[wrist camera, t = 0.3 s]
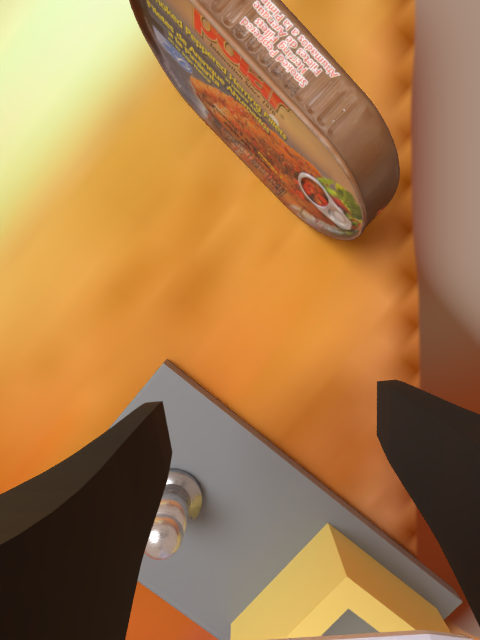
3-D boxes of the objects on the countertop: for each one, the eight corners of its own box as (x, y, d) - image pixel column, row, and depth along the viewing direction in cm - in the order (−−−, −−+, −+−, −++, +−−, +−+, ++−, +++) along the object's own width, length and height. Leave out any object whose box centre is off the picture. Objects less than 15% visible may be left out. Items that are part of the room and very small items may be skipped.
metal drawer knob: (178, 532, 22) (162, 596, 18) (133, 498, 22) (105, 555, 18) (214, 491, 22) (208, 547, 18) (169, 456, 22) (150, 503, 17)
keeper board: (331, 705, 25) (334, 723, 24) (49, 500, 23) (40, 510, 22) (453, 588, 24) (462, 602, 23) (166, 359, 22) (163, 363, 21)
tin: (149, 65, 20) (82, -90, 11) (187, 22, 19) (146, -170, 11) (327, 251, 21) (384, 235, 13) (364, 213, 21) (448, 172, 12)
